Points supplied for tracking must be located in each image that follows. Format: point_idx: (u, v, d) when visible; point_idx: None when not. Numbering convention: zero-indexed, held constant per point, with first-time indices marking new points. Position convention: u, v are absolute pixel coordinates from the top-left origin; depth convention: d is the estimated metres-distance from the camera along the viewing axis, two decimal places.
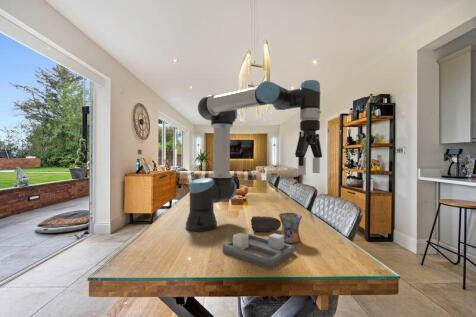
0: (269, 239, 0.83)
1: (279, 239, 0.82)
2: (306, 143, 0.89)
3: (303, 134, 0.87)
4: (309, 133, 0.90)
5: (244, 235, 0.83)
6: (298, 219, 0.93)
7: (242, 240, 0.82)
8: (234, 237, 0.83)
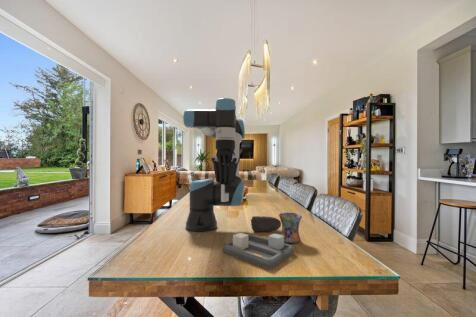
0: (269, 239, 0.83)
1: (279, 239, 0.82)
2: None
3: None
4: (217, 153, 0.90)
5: (244, 235, 0.83)
6: (298, 219, 0.93)
7: (242, 240, 0.82)
8: (234, 237, 0.83)
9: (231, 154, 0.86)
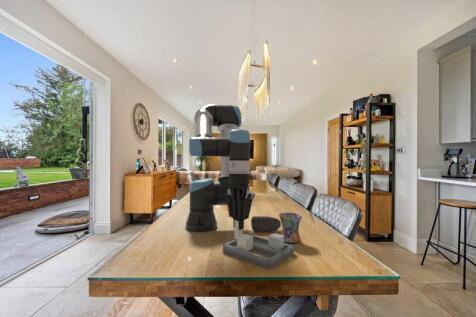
0: (269, 239, 0.83)
1: (279, 239, 0.82)
2: None
3: None
4: (230, 187, 0.86)
5: (248, 237, 0.82)
6: (298, 219, 0.93)
7: (246, 242, 0.81)
8: (238, 238, 0.82)
9: (245, 189, 0.81)
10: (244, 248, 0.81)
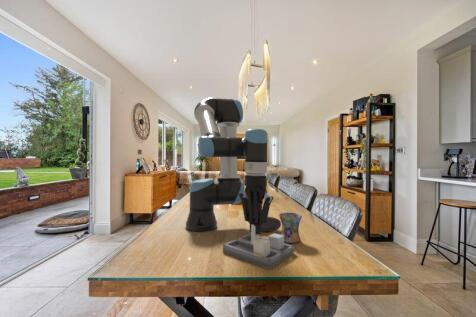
0: (269, 239, 0.83)
1: (279, 239, 0.82)
2: None
3: None
4: (246, 189, 0.81)
5: (265, 242, 0.78)
6: (298, 219, 0.93)
7: (264, 247, 0.76)
8: (255, 243, 0.78)
9: (263, 192, 0.77)
10: (261, 254, 0.76)
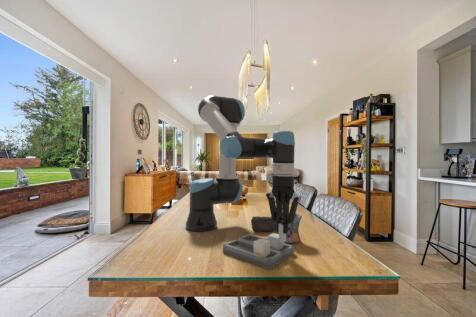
0: (268, 239, 0.84)
1: (278, 238, 0.82)
2: None
3: None
4: (273, 189, 0.83)
5: (265, 242, 0.78)
6: (298, 219, 0.93)
7: (264, 247, 0.76)
8: (255, 243, 0.78)
9: (292, 192, 0.79)
10: (261, 254, 0.76)
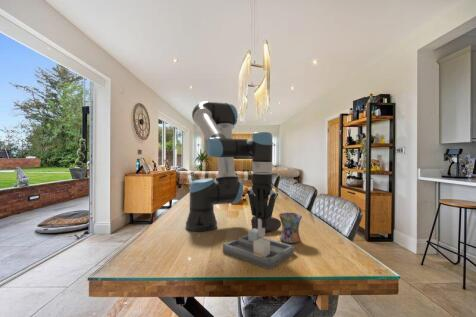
0: (249, 233, 0.89)
1: None
2: None
3: None
4: (253, 187, 0.89)
5: (265, 242, 0.78)
6: (298, 219, 0.93)
7: (264, 247, 0.76)
8: (255, 243, 0.78)
9: (269, 189, 0.85)
10: (261, 254, 0.76)
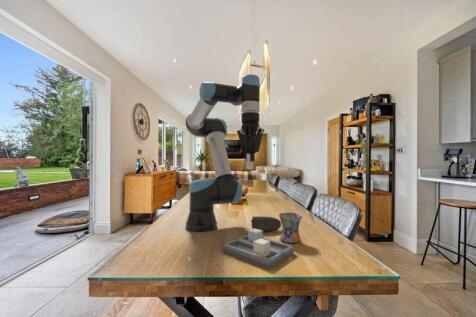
0: (249, 233, 0.89)
1: (258, 233, 0.88)
2: None
3: None
4: (242, 126, 0.99)
5: (265, 242, 0.78)
6: (298, 219, 0.93)
7: (264, 247, 0.76)
8: (255, 243, 0.78)
9: (256, 125, 0.95)
10: (261, 254, 0.76)
